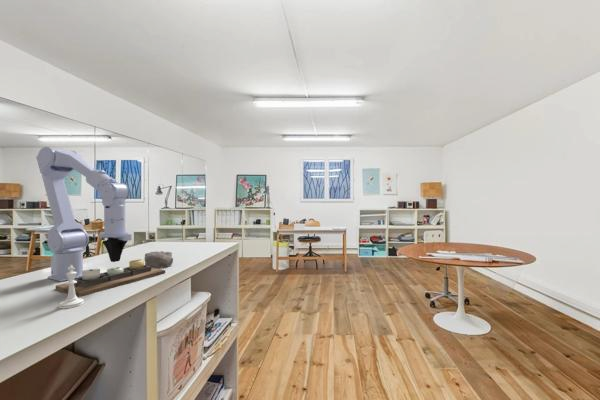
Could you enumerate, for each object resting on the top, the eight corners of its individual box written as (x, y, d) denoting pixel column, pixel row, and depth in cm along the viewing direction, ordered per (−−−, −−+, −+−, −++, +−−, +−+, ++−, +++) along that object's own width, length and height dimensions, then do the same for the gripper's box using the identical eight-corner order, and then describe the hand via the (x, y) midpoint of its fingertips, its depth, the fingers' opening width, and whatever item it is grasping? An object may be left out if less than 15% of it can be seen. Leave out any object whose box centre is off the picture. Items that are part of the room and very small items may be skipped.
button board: (55, 289, 81) (55, 280, 81) (141, 268, 104) (140, 261, 104) (80, 296, 75) (80, 286, 74) (165, 273, 98) (165, 265, 98)
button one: (78, 279, 82) (78, 270, 82) (95, 275, 86) (95, 267, 86) (86, 281, 80) (86, 272, 80) (103, 277, 84) (103, 268, 84)
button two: (104, 277, 88) (104, 269, 88) (118, 273, 92) (118, 265, 92) (112, 278, 86) (112, 270, 86) (126, 275, 90) (126, 267, 90)
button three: (126, 268, 95) (126, 261, 95) (138, 265, 98) (138, 258, 98) (134, 269, 93) (134, 262, 93) (146, 267, 96) (146, 259, 96)
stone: (174, 266, 107) (173, 251, 107) (145, 270, 102) (144, 255, 102) (171, 262, 114) (171, 248, 114) (144, 266, 109) (144, 251, 109)
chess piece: (69, 309, 66) (69, 268, 66) (53, 307, 67) (52, 267, 67) (89, 301, 71) (88, 263, 71) (73, 300, 72) (73, 262, 72)
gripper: (89, 219, 89) (89, 261, 89) (114, 221, 82) (115, 266, 82) (112, 218, 95) (112, 257, 95) (137, 219, 89) (138, 261, 89)
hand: (115, 261), depth 89 cm, fingers closed
